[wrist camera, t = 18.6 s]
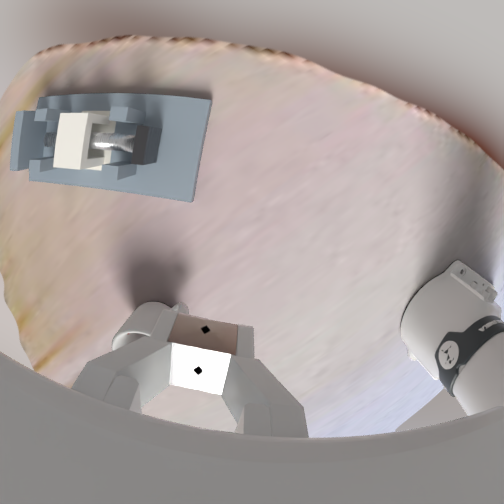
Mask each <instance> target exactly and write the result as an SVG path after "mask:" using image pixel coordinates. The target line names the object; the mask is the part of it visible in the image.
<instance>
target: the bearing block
mask: <svg viewBox="0 0 504 504" xmlns="http://www.w3.org/2000/svg"><path fill="white" fill-rule="evenodd" d="M211 106H212V101H211V100H206V99H199V98H190V97H181V96H169V95H156V94H135V93H91V94H71V95H58V96H48V97H40V98H39V100H38V105H37V109H36V111H17V112H16V116H15V123H14V130H13V138H12V148H11V160H10V170H12V171H19V170H23V169H28V168H29V181H38V182H47V183H56V184H65V185H74V186H82V187H90V188H98V189H105V190H113V191H120V192H127V193H134V194H141V195H147V196H154V197H160V198H167V199H173V200H179V201H185V202H192V201H193V200H194V195H195V189H196V183H197V177H198V171H199V165H200V160H201V155H202V149H203V144H204V139H205V134H206V129H207V125H208V120H209V115H210V111H211ZM60 113H93V114H99V115H105V116H109V120H111V122H110V125H109V124H92V129H91V132H101V133H119V134H132V135H136V129H137V125H143V126H151V127H156V128H161V129H162V133H161V138H160V144H159V149H158V156H157V162H156V163H152V164H147V165H136V164H131V160H132V153H133V152H122V151H111V150H98V149H88V156H98V157H105V159H104V164H103V165H101V166H96V167H91V168H86V169H81V170H77V169H67V168H57V167H53V163H54V153H55V147H45V145H44V136H45V134H46V133H47V132H57V130H58V124H59V118H60Z"/></svg>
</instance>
